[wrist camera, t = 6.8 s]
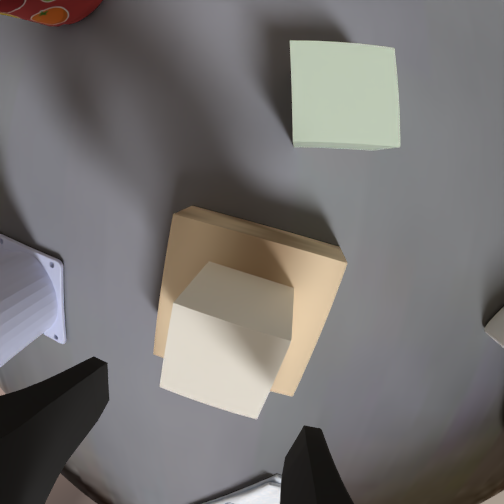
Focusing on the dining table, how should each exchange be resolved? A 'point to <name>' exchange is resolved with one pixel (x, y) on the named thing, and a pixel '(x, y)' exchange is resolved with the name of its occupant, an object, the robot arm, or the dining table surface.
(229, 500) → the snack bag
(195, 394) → the cream block
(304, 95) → the sage block
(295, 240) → the oak base
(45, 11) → the smoothie
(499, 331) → the spoon rest
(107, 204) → the dining table surface
